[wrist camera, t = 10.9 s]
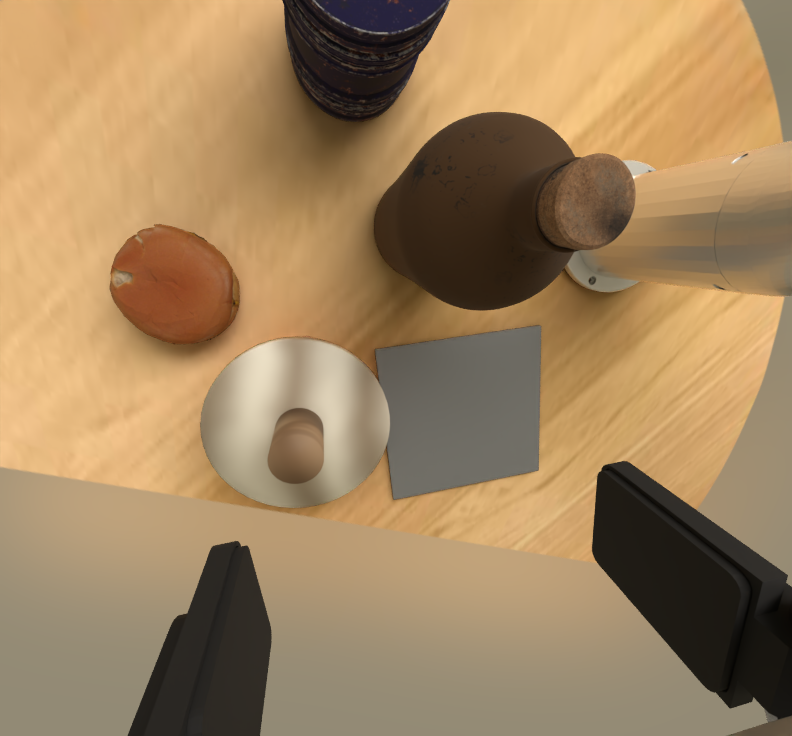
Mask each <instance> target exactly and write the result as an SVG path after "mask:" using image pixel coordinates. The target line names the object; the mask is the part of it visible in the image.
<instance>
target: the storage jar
mask: <svg viewBox="0 0 792 736" xmlns="http://www.w3.org/2000/svg"><path fill="white" fill-rule="evenodd" d="M282 1H283V3H284V14H285V30H286V37H287V43H288V48H289V52H290V55H291V59H292V64H293V67H294V71H295V74H296V76H297V79H298V81H299V83H300V85H301V87H302V88H303V90H304V92H305V93H306V94H307V96H308V97H309V98H310V99H311V101H312V102H313V103H314V104H315V105H317V106H318V107H319V108H320V109H321V110H323V111H324V112H326V113H327V114H329V115H331V116H333V117H335V118H337V119H341V120H344V121H351V122H359V121H366V120H370V119H373V118H375V117H377V116H379V115H381V114H382V113H383V112H385V111H386V110H387V109H388V108H389V107H390V106H391V105H392V104H393V103H394V102H395V100H396V99H397V98H398V96H399V94H400V93H401V91H402V90H403V89H404V87H405V86H406V84H407V82H408V80H409V78H410V76H411V74H412V72H413V70H414V67H415V64H416V62H417V59H418V56H419V54H420V53H421V52H422V51H423V49H424V48H425V47H426V45H427V44H428V42H429V41H430V40H431V38H432V36H433V34H434V32H435V30H436V28H437V26H438V24H439V22H440V21H441V19H442V17H443V15H444V13H445V11H446V9H447V7H448V4H449V1H450V0H282Z"/></svg>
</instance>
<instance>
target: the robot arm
mask: <svg viewBox="0 0 792 736" xmlns="http://www.w3.org/2000/svg"><path fill="white" fill-rule="evenodd" d="M622 162H623V163H625V165H626V166H627V167H628V169H629V170H630V172H631V174H632V176H633V179H634V183H635V190H636V198H635V206H634V210H633V213H632V216H631V218H630V221H629V223H628V224H627V226H626V228H625V229H624V230H623V232H622V233H621V234H620V235H619V236H618V237H617V238H616V239H615V240H614V241H612V242H611V243H609V244H608V245H606V246H604V247H601V248H598V249H594V250H579V251H576V252H574V253H573V255H572V257H571V259H570V260H569V262H568V264H567V265H566V266H565V270H566V271H567V273H568V274H569V275H570V276H571V278H572V279H573V280H574V281H576V282H577V283H578V284H579V285H581V286H583V287H585V288H587V289H590V290H594V291H599V292H616V291H621V290H624V289H627V288H630V287H631V286H633V285H635V284H637V283H638V282H640V281H643V282H652V283H660V284H669V285H677V286H686V287H694V288H702V289H711V290H719V291H728V292H736V293H745V294H756V295H765V296H792V141H788V142H784V143H781V144H777V145H772V146H768V147H763V148H758V149H754V150H749V151H744V152H740V153H735V154H731V155H726V156H721V157H717V158H712V159H708V160H703V161H698V162H694V163H689V164H685V165H680V166H675V167H671V168H666V169H662V170H656V169H654V168H653V167H651V166H649V165H648V164H646V163H643V162H639V161H636V160H623V161H622ZM592 552H593V555H594V558H595V560H596V561H597V563H598V564H599V565H600V567H601V568H602V569H603V570H604V571H605V572H606V573H607V575H608V576H609V577H610V578H611V579H612V580H613V582H614V583H615V584H616V585H617V586H618V587H619V588H620V590H621V591H622V592H623V593H624V594H625V595H626V597H627V598H628V599H629V600H630V601H631V602H632V603H633V605H634V606H635V607H636V608H637V609H638V610H639V611H640V613H641V614H642V615H643V616H644V617H645V618H646V620H647V621H648V622H649V623H650V624H651V625H652V626H653V628H654V629H655V630H656V631H657V632H658V633H659V635H660V636H661V637H662V638H663V639H664V640H665V641H666V643H667V644H668V645H669V646H670V647H671V649H672V650H673V651H674V652H675V653H676V654H677V655H678V657H679V658H680V659H681V660H682V661H683V662H684V664H685V665H686V666H687V667H688V668H689V669H690V670H691V672H692V673H693V674H694V675H695V676H696V677H697V678H698V680H699V681H700V682H701V683H702V684H703V685H704V686H705V687H706V688H707V689H708V690H710V691H712V692H716V693H717V694H718V695H719V697H720V698H721V699H722V700H723V701H724V702H725V703H726V705H727V706H728V707H729V708H734V707H737V706H740V705H743V704H746V703H749V702H752V700H753V697H754V698H755V699H756V700H757V701H758V702H759V703H760V704H761V706H762V707H763V708H764V709H765V713H766V717H767V721H768V723H766V724H762V725H759V726H756V727H753V728H750V729H747V730H743V731H741V732H737V733H734V734H731V735H728V736H792V587H791V586H790V585H788V584H787V583H786V580H787V577H788V575H787V574H785V573H784V572H782V571H781V570H780V569H778V568H777V567H775V566H774V565H772V564H771V563H770V562H768V561H767V560H766V559H764V558H763V557H761V556H760V555H759V554H757V553H756V552H754V551H753V550H751V549H750V548H749V547H747V546H746V545H745V544H743V543H742V542H740V541H739V540H737V539H736V538H735V537H733V536H732V535H730V534H729V533H728V532H726V531H725V530H723V529H722V528H720V527H719V526H718V525H716V524H715V523H714V522H712V521H711V520H709V519H708V518H707V517H705V516H704V515H702V514H701V513H700V512H698V511H697V510H695V509H694V508H693V507H691V506H690V505H688V504H687V503H685V502H684V501H683V500H681V499H680V498H678V497H677V496H676V495H674V494H673V493H671V492H670V491H669V490H667V489H666V488H664V487H663V486H662V485H660V484H659V483H657V482H656V481H654V480H653V479H652V478H650V477H649V476H647V475H646V474H645V473H643V472H642V471H640V470H639V469H638V468H636V467H635V466H633V465H632V464H631V463H629V462H627V461H622V462H617V463H612V464H607V465H604V466H603V468H602V470H601V472H599V473H598V476H597V489H596V502H595V515H594V529H593V542H592ZM270 649H271V626H270V622H269V619H268V615H267V611H266V608H265V604H264V601H263V597H262V594H261V590H260V586H259V583H258V579H257V575H256V572H255V569H254V565H253V561H252V558H251V554H250V550H249V548H248V546H242V547H241V545H240V543H239V542H238V541H235V542H230V543H225V544H220V545H215V546H213V547H212V548H211V550H210V552H209V555H208V558H207V561H206V564H205V566H204V569H203V572H202V575H201V577H200V580H199V583H198V586H197V589H196V591H195V594H194V597H193V600H192V602H191V605H190V608H189V611H188V613H187V614H183V615H179V616H177V617H176V618H175V619H174V621H173V623H172V625H171V627H170V629H169V632H168V634H167V637H166V639H165V642H164V644H163V647H162V649H161V652H160V655H159V657H158V660H157V662H156V665H155V667H154V670H153V672H152V675H151V678H150V680H149V683H148V685H147V688H146V690H145V693H144V695H143V698H142V700H141V703H140V706H139V708H138V711H137V713H136V716H135V718H134V721H133V723H132V726H131V728H130V731H129V734H128V736H260V729H261V722H262V714H263V706H264V698H265V689H266V681H267V673H268V665H269V657H270Z"/></svg>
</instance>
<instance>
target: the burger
mask: <svg viewBox="0 0 792 736" xmlns="http://www.w3.org/2000/svg"><path fill="white" fill-rule="evenodd" d="M154 226H155V227H154V228H148V229H143V230H141V231H139V232H138V233H137V235H134V236H132V237H131V238H129V239H128V240H127V242H126V243H125V244H124V245H123V247H122V248H121V249H120V251H119V252H118V253H117V254H116V257H115V259H114V262H113V265H112V269H111V282H110V291H111V294H112V297H113V300H114V302H115V303H116V305H117V306H118V308H119V309H120V310H121V312H122V313H123V314H124V316H125V317H126V318H127V319H128V320H129V321H130V322H131V323H133V324H134V325H135V326H136V327H137V328H138V329H140V330H141V331H143V332H144V333H146V334H147V335H150V336H153V337H155V338H158V339H160V340H162V341H166V342H170V343H173V344H175V343H176V344H193V343H198V342H202V341H205V340H208V339H210V340H211V338H213V337H215V336H216V335H219V334H220V333H221V332H223V331H224V330H225V329H226V328H227V327H228V326H229V325H230V324H231V323H232V321H233V320H234V318H235V315H236V313H237V311H238V306H239V300H240V295H239V283H238V279H237V277H236V276H235V274H234V272H233V269H232V267H231V266H230V264H229V262H228V261H227V259H226V257H225V256H224V255H223V254H222V253H221V252H220V251H219V250H217V249H216V248H215V247H214V246H213V245H211V244H209V243H208V242H207V241H206V240H205V239H204V238H202V237H199V236H197V235H196V234H194V233H191V232H186V231H184V230H182V229H178V228H175V227H172V226H166V225H161V224H157V225H154Z"/></svg>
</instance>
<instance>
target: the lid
mask: <svg viewBox="0 0 792 736" xmlns="http://www.w3.org/2000/svg"><path fill="white" fill-rule="evenodd" d="M200 427H201V438H202V442H203V447H204V449H205V452H206V454H207V457H208V459H209V461H210V462H211V464H212V466H213V468H214V469H215V470H216V472H217V473H218V474H219V475H220V477H221V478H222V479H223V480H224V481H225V482H226V483H227V484H229V485H230V486H231V487H232V488H234V489H235V490H236V491H238V492H240V493H241V494H243V495H245V496H246V497H248V498H251V499H253V500H255V501H258V502H261V503H264V504H268V505H272V506H278V507H287V508H302V507H310V506H316V505H320V504H324V503H327V502H330V501H332V500H335V499H338V498H339V497H341V496H343V495H345V494H347V493H349V492H350V491H352V490H353V489H355V488H356V487H357V486H358V485H360V484H361V483H362V482H363V481H364V480H365V479H366V478H367V477H368V476H369V475H370V474H371V473H372V472H373V470H374V469H375V467H376V466H377V465H378V463H379V461H380V459H381V457H382V456H383V453H384V451H385V448H386V445H387V442H388V437H389V431H390V414H389V408H388V403H387V400H386V398H385V395H384V392H383V390H382V388H381V386H380V384H379V382H378V380H377V378H376V377H375V375H374V374H373V372H372V371H371V370H370V369H369V368H368V366H367V365H366V364H365V363H364V362H363V361H362V360H360V359H359V358H358V357H357V356H355V355H354V354H353V353H351V352H349V351H348V350H346V349H345V348H343V347H340V346H338V345H336V344H334V343H331V342H328V341H324V340H321V339H316V338H310V337H285V338H279V339H274V340H269V341H267V342H264V343H261V344H258V345H256V346H254V347H252V348H250V349H248V350H246V351H245V352H243V353H242V354H240V355H239V356H237V357H236V358H235V359H234V360H232V361H231V362H230V363H229V364H228V365H227V366H226V367H225V368H224V370H223V371H222V372H221V373H220V374H219V376H218V377H217V378H216V379H215V381H214V383H213V384H212V386H211V388H210V389H209V391H208V394H207V396H206V398H205V401H204V404H203V408H202V412H201V422H200Z"/></svg>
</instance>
